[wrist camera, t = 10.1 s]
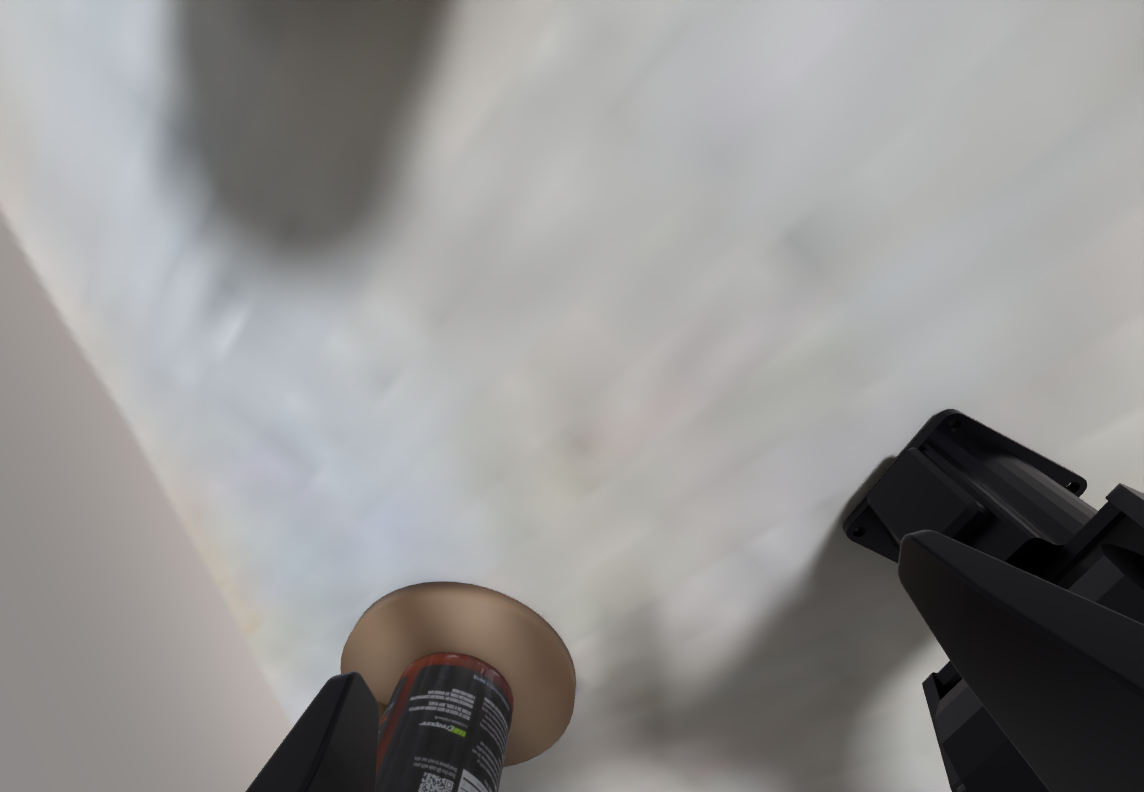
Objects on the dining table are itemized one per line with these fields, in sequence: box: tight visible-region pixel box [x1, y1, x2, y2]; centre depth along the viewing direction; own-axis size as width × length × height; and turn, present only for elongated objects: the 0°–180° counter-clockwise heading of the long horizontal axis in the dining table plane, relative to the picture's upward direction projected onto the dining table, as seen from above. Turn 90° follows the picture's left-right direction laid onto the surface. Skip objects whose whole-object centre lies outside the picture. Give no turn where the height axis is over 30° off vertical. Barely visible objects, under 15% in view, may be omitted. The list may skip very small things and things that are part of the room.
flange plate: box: [341, 582, 576, 767], centre depth 24 cm, size 12×12×7 cm
